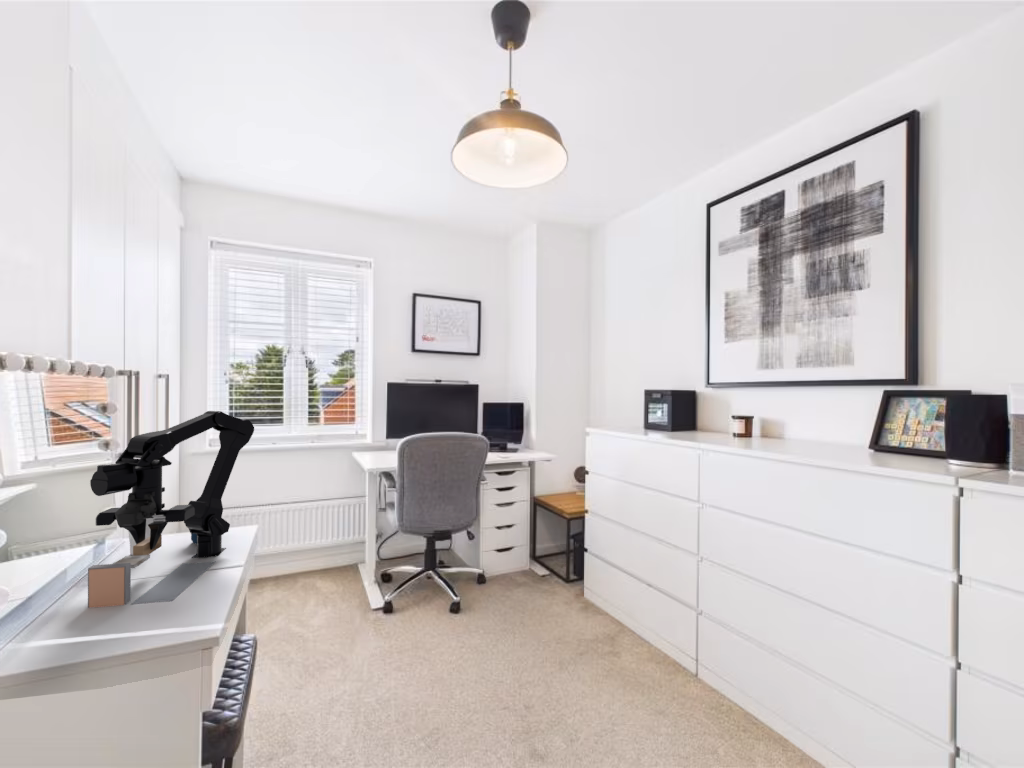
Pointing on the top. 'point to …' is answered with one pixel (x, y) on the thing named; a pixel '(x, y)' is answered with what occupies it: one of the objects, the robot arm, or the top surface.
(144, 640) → the top surface
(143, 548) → the turner
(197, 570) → the mat
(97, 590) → the tile
